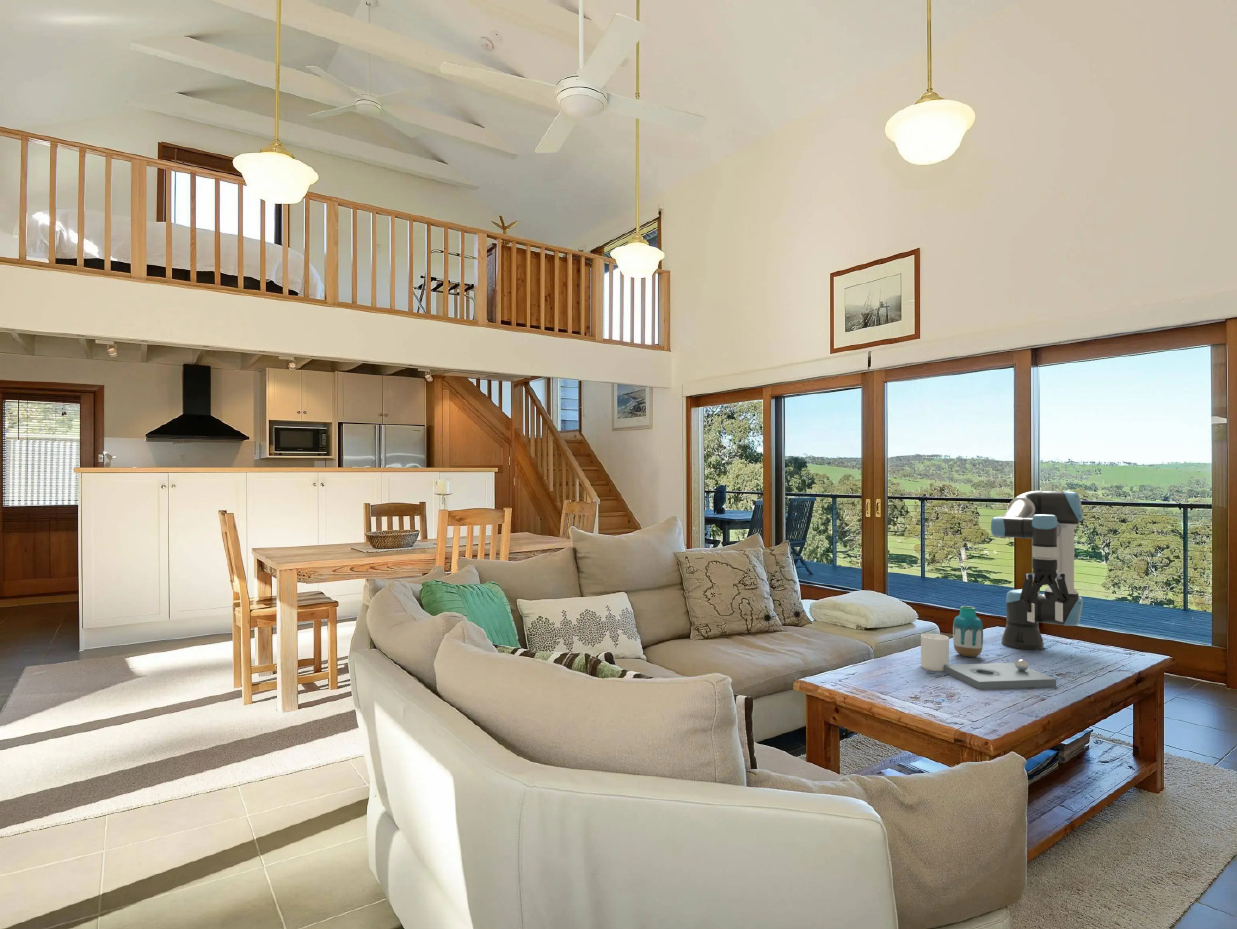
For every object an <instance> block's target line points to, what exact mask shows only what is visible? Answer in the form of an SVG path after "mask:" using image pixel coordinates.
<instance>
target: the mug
mask: <svg viewBox="0 0 1237 929" xmlns="http://www.w3.org/2000/svg"><path fill="white" fill-rule="evenodd" d="M920 665H921V667H922V668H923V669H924V670H927V671H932V672H939V673H940V672H944V665H950V637H949V636H948V635H944V634H940V633H922V634H920Z"/></svg>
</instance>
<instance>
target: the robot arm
mask: <svg viewBox="0 0 1237 929" xmlns="http://www.w3.org/2000/svg"><path fill="white" fill-rule="evenodd" d="M1080 521H1084V513H1083V505H1082V501H1081V498H1080V494H1079V493H1078V492H1075V491H1066V490H1063V491H1062V490H1061V491H1060V490H1033V491H1032V490H1031V491H1027V492H1024V493H1021V494H1019V495H1017V496H1015V497H1014V498H1013V499H1012V500H1011V501H1010V502H1009V504H1008V509H1007V511H1006V512H1005V514H1004V515H1002V516H994V517H992V518H991V521H990V531H991V535H992V536H994V537H998V538H999V537H1000V538H1018V539H1032V552H1031V553H1032V561H1031V562H1032V564H1031V565H1032V570H1033V571H1032V573H1024V582H1023V585H1022V588H1021V589H1019V588H1018V589H1011V590H1009V591H1007V593H1006V598H1005V599H1006V601H1005V603H1006V606H1005V607H1006V610H1005V611H1006V615H1005V616H1006V621H1005V622H1006V624H1005V628H1004V630H1003V633H1002V634H1003V635H1002V636H1001V644H1003V645H1004V646H1007V647H1010V648H1013V649H1020V650H1033V651H1034V650H1036V651H1037V650H1043V649H1044V648H1045V645H1044V644H1045V642H1044V640H1043V636H1042V634H1041V630H1040V628H1039V627H1040V624H1039V623H1042V624H1049V625H1050V624H1051V625H1060V626H1061V625H1062V626H1064V627H1066V626H1070V627H1076V626H1078V625H1079V624H1080V621H1081V617H1082V611H1083V604H1084V598H1082V597H1081V596H1079V594H1080V592H1078V591H1077V590H1076V589H1075V529H1076V528H1077V527H1078V526H1079V523H1080ZM1046 585H1047V586H1048V587H1047V588H1045V589H1044V593H1040V592H1039V591H1040V588H1042V587H1043V586H1046Z"/></svg>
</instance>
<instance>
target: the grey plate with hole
mask: <svg viewBox="0 0 1237 929" xmlns="http://www.w3.org/2000/svg"><path fill="white" fill-rule="evenodd" d="M1015 663H1016V662H993V663H992V662H991V663H968V664H967V663H962V664H961V663H960V664H949V665H944V671H943V673H946V675H949V676H952V677H954V678H955V679H957V680H959V681H961V682H963V683H966V684H968V685H969V686H972V687H974V688H975V689H977V690H994V689H995V690H996V689H998V690H999V689H1026V688H1049V687H1050V688H1053V687H1054V688H1055V687H1057V678H1055V677H1053V676H1049V675H1048V674H1045V673H1042V672H1039V671H1037V670H1034V669H1032V668H1030V667H1028V669H1027V670H1026V671H1020V670H1018V669H1017V668H1016V666H1015Z"/></svg>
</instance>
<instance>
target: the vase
mask: <svg viewBox="0 0 1237 929" xmlns="http://www.w3.org/2000/svg"><path fill="white" fill-rule="evenodd" d="M976 612H977V610H976V607H974V606H971V605H969V606H968V605H963V606H960V608H959V614H958V615H957V616H955V617H954V619H953V624H952V641H953V642H952V643H953V648H954V651H955V652H956V654H958V655H961V656H964V657H971V658H972V657H973V658H974V657H978V656H980V655H981V653H982V651H983V646H984V626H983V621H982V620H981V619H980V618H979V617H978V616H977V613H976Z"/></svg>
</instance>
